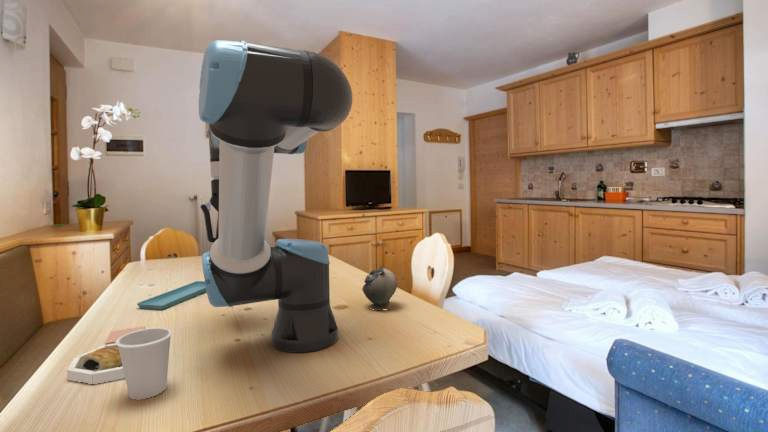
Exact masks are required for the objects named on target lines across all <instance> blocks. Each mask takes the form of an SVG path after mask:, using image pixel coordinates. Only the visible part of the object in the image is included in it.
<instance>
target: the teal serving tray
mask: <svg viewBox="0 0 768 432" xmlns="http://www.w3.org/2000/svg"><path fill="white" fill-rule="evenodd" d="M205 293H207V291H206V285H205V280H204V281H203V280H198V281H197V280H196V281H194V282H191V283H188V284H186V285H183V286H180V287H178V288H174V289H173V290H170V291H167V292H163V293H161V294H157V295H155V296H153V297H150V298H148V299H144V300H142V301H138V302H137V303H136V305H137V306H138V307H139V309H141V310H143V309H144V310H154V311H155V310H156V311H163V310H166V309H168V308H171V307H173V306H175V305H178V304H180V303H182V302H186V301H188V300H190V299H194V298H196V297H198V296H200V295H203V294H205Z"/></svg>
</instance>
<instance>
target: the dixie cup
mask: <svg viewBox="0 0 768 432" xmlns="http://www.w3.org/2000/svg"><path fill="white" fill-rule="evenodd" d="M172 335H173V331H172V330H170V329H169V328H167V327H149V328H145V329H142V330H137V331H134V332H130V333H128V334H125V335H123V336H121V337H120V338H119V339H118V340H117V341H116V345H117V346H118V349H119V353H120V357H121V362H122V365H121V367H122V366H123V371H124V375H125V379H124V380H125V382H126V383H125V384H126V387H127V391H128V396H129V398H130V399H131V400H134V399H136V400H135V401H141V399H143V400H147V399H146V398H148V399H151V398H150V397H152V398H154V397H153V396H155V395H157V396H159V395H160V394H159V393H161V392H162V391H164V390H165V389H167V385H168V384H167V383H168V373H169V359H170V347H171V346H170V345H171V336H172ZM165 391H166V390H165ZM165 391H164V392H165ZM162 393H163V392H162ZM162 393H161V394H162ZM158 394H159V395H158ZM155 397H156V396H155Z"/></svg>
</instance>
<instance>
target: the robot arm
mask: <svg viewBox="0 0 768 432" xmlns="http://www.w3.org/2000/svg"><path fill="white" fill-rule="evenodd" d="M203 54H204V55H203V59H202V63H201V64H202V65H201V71H200V77H199V79H200V80H199V94H198V115H199V119H200V121H202V122H203V123H206V124H207V125H208V128H207V133H208V146H209V147H208V148H209V163H210V167H209V168H210V177H211V178H212V179H211V180H210V189H211V197H210V199H209V201H208V202H206V203H204V204H203V203H202V204H200V206H199V208H200V210H201V211H202V213H203V218H204V225H205V230H206V237H207V241H208V242H209V243H212V244H211V247H210V249H209V250H208V251H206V252H204V253H203V254H202V255H201V263H202V271H203V272H202V273H203V278H204V281H205V285H206V291H207V292H206V295H207V299H208V301H209V304H210V305H211V306H213V307H214V308H224V307H228V308H231V307H235V306H241V305H249V304H256V303H261V302H269V301H274V300H275V301H276V300H277V301H278V303H277V304H278V310H277V313H276V316H275V319H274V324H273V326H272V330H271V334H270V335H271V345H272V346H273V348H274V349H277V350H279V351H282V352H286V353H287V352H288V353H308V352H314V351H320V350H322V349H326V348H328V347H330V346H333V345H334V344H335V343H336V342H337V341H338V339H339V327H338V324H337V320H336V318H335V316H334V314H333V311H332V307H331V301H330V300H331V299H330V296H331V295H330V262H331V261H330V258H329V257H330V256H329V249H328V247H327V245H326V244H324V243H323V242H320V241H316V240H309V239H301V238H300V239H298V238H279V239H277V240H276V242H275V244H274V245H275V246H270V244H269V243H268V241H267V240H266V230H267V223H268V222H267V221H268V211H269V203H270V192H271V181H272V173H273V163H274V154H287V155H295V154H296V155H300V154H303V153H304V152H305V151H306V148H307V145H308V141H309V139H311V138H312V137H314V136H315V135H317V134H318V133H320V132H321V133H322V132H323V133H324V132H330V131H331V130H334V129H335V128H337V127H339V126H340V125H341V124H342V123H344V122H345V121H346V119H347V118H348V116H349V115H350V112H351V111H352V105H353V91H352V87H351V84H350V81H349V80H348V77H347V76H346V74H345V73H344V71H343V70H342V69H341V68H340V67H339V65H337V63H336V62H334V61H333V60H331V59H330V58H329V57H326V56H324V55H323V54H320V53H317V52H315V51H311V50H302V49H300V50H299V49H293V48H286V47H280V46H273V45H272V46H271V45H266V44H265V45H264V44H260V43H259V44H258V43H252V42H246V41H245V40H238V41H235V40H224V39H223V40H222V39H217V40H216V39H215V40H213V41H211V42H210V43H209V44H208V45H207V47H206V48H205V51H204V53H203ZM211 206H212V208H213V209H215V211H216V212H217V220H216V221H217V222H216V229H215V237H214V234H213V233H214V231H213V227H212V226H213V225H212V219H211V213H210V211H211V209H212V208H211Z"/></svg>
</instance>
